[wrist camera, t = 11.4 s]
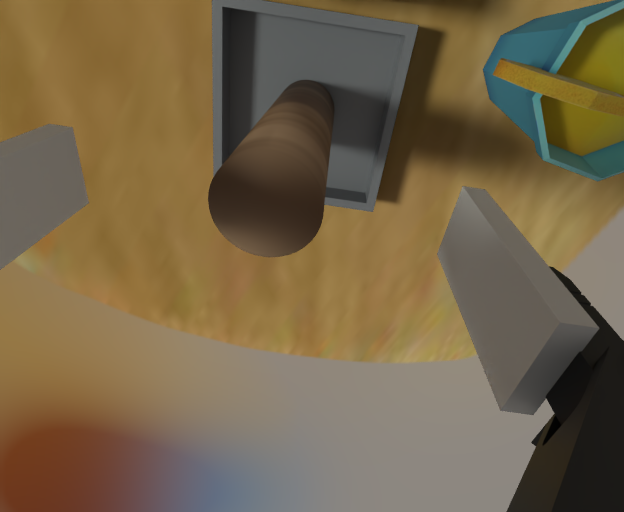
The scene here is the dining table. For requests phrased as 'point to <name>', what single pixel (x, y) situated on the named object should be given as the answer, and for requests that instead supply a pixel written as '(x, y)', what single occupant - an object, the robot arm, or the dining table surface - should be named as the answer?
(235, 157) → the dowel
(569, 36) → the cup
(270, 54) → the tray
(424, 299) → the dining table surface
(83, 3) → the dining table surface
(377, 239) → the dining table surface
